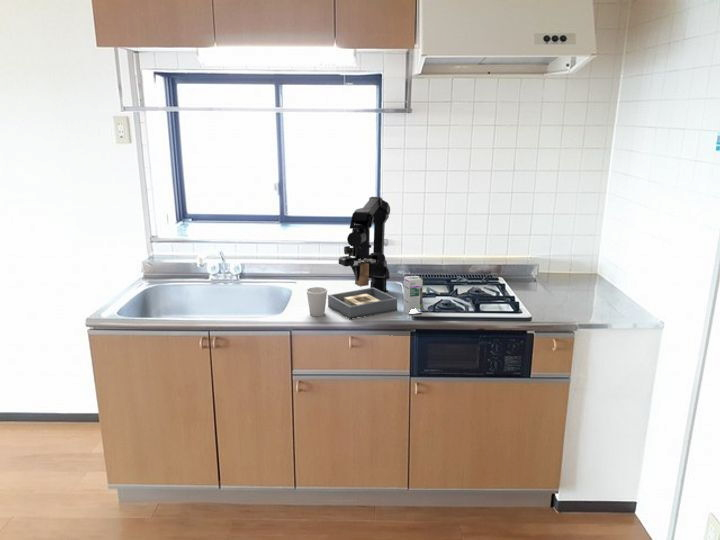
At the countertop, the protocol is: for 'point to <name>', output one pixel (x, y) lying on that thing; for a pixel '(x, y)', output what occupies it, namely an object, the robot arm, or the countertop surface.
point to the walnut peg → (363, 274)
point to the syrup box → (412, 293)
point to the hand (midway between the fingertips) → (362, 279)
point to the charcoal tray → (383, 306)
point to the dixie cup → (317, 300)
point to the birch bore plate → (360, 299)
